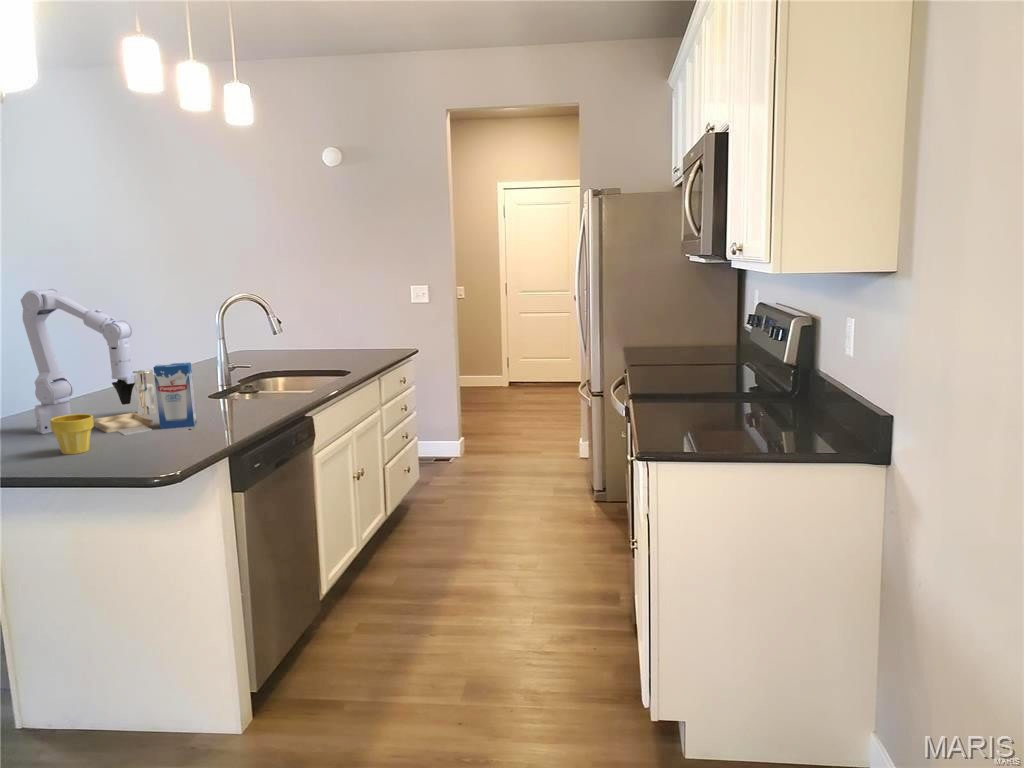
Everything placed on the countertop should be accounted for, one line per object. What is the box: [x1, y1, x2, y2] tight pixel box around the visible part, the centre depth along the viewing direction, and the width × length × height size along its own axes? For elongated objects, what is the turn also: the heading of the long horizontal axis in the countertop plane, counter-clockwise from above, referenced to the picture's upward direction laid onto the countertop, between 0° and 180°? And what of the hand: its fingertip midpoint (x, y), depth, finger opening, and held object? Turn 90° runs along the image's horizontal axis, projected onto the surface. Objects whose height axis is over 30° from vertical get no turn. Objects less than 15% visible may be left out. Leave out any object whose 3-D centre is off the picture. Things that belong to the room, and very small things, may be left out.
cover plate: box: [116, 426, 152, 436], centre depth 232 cm, size 8×7×2 cm
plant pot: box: [50, 413, 95, 455], centre depth 210 cm, size 10×10×10 cm
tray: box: [93, 412, 154, 434], centre depth 240 cm, size 14×17×2 cm
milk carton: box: [153, 362, 198, 430], centre depth 235 cm, size 10×6×20 cm, turn 105°
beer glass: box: [132, 369, 157, 416], centre depth 257 cm, size 7×7×15 cm
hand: (126, 403), depth 234 cm, fingers closed
